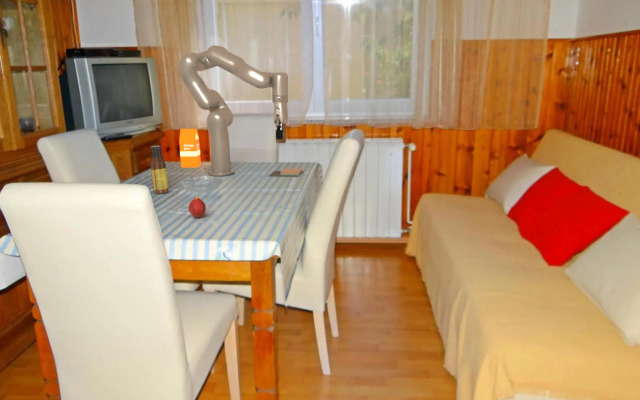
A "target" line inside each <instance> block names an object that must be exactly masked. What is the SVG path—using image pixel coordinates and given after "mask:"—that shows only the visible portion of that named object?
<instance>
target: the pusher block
mask: <svg viewBox="0 0 640 400" xmlns="http://www.w3.org/2000/svg"><path fill="white" fill-rule="evenodd" d="M279 124H281V122H279ZM286 124H287V123H285V124H283V123H282V130H283V139H276V138H275V143H276V144H285V143H287V128H286V127H287V125H286ZM280 127H281V125H280Z"/></svg>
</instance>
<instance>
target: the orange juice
mask: <svg viewBox="0 0 640 400" xmlns="http://www.w3.org/2000/svg"><path fill="white" fill-rule="evenodd" d="M179 130H180V131H179V140H178V142H179V143H178V144H179V156H180V166H181V168H199V167H200V166H201V165H202V163H201V146H200V145H201V144H200V137H199V133H198V130H197V128H180V129H179Z"/></svg>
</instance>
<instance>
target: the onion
mask: <svg viewBox="0 0 640 400" xmlns="http://www.w3.org/2000/svg"><path fill="white" fill-rule="evenodd" d="M206 208H207V207H206V203H205V202H204V201H203V200H202V199H201V198H199V196H197V195H195V196H194V197H193V199H192V200H191V201H190V203H189V205H188V212H189V213H190V214H191V215H192V216H193V217H195V218H196V219H200V218H201V217H202V216H203V215H204V214H205V212H206V210H207V209H206Z"/></svg>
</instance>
